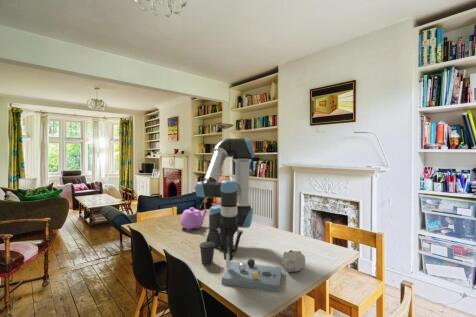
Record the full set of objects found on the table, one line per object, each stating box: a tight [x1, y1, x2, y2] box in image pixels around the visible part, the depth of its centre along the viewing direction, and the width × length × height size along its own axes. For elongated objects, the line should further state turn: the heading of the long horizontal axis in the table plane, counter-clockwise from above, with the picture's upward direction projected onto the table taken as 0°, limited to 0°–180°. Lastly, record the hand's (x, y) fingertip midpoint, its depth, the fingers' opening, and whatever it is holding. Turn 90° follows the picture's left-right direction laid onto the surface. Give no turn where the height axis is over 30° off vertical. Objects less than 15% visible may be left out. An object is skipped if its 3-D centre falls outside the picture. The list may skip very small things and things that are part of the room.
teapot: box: [179, 207, 208, 232], centre depth 179 cm, size 20×20×15 cm
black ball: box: [246, 258, 256, 267], centre depth 113 cm, size 4×4×4 cm
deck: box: [221, 261, 283, 293], centre depth 108 cm, size 24×16×2 cm, turn 76°
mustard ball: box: [252, 272, 259, 280], centre depth 102 cm, size 3×3×3 cm
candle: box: [281, 250, 306, 273], centre depth 117 cm, size 9×11×15 cm
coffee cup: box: [198, 241, 216, 266], centre depth 122 cm, size 8×8×10 cm
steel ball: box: [238, 262, 246, 272], centre depth 109 cm, size 4×4×4 cm
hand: (228, 266), depth 110 cm, fingers closed
